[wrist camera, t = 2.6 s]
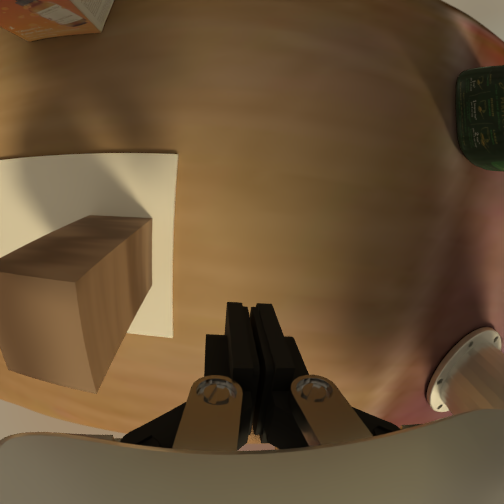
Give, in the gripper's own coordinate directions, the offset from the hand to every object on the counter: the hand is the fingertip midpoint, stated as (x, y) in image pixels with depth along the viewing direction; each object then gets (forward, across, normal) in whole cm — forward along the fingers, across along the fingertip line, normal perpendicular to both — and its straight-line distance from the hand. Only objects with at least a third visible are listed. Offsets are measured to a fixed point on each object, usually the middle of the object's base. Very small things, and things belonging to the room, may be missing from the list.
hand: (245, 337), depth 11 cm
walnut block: (+11, +8, 0) cm, 14 cm away
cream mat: (+11, +15, 0) cm, 19 cm away
